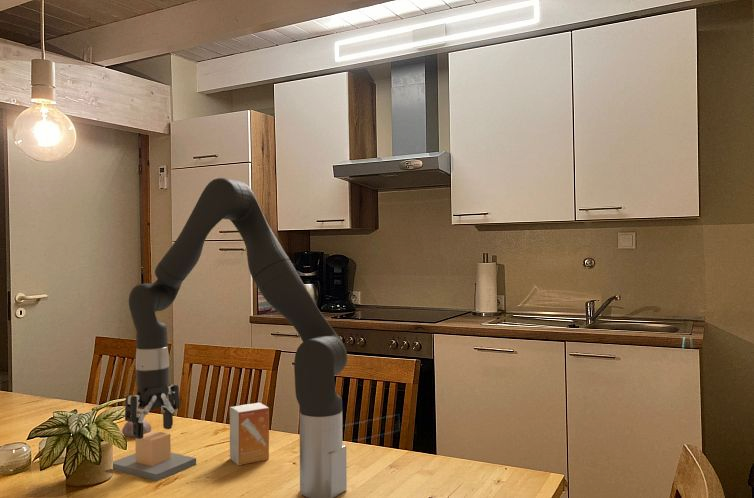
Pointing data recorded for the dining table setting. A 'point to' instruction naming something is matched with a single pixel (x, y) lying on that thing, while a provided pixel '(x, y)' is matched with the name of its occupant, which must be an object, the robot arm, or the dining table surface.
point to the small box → (249, 433)
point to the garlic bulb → (128, 428)
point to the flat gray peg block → (154, 466)
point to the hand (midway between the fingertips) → (153, 433)
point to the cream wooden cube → (153, 448)
